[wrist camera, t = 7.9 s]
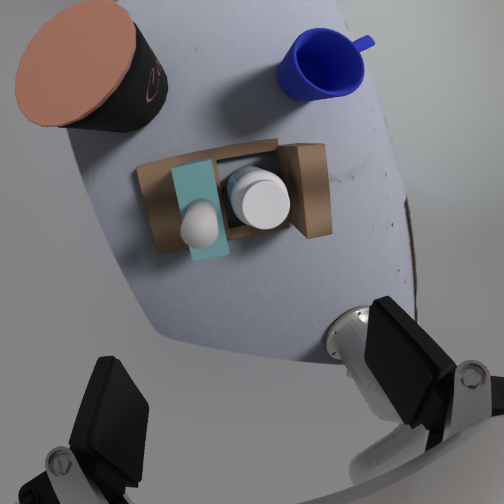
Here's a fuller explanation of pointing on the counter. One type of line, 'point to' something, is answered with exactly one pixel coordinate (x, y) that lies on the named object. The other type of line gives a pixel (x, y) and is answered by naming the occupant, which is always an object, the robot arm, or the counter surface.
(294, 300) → the counter surface
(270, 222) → the pill bottle
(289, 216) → the wooden tray
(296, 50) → the mug
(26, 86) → the coffee jar
